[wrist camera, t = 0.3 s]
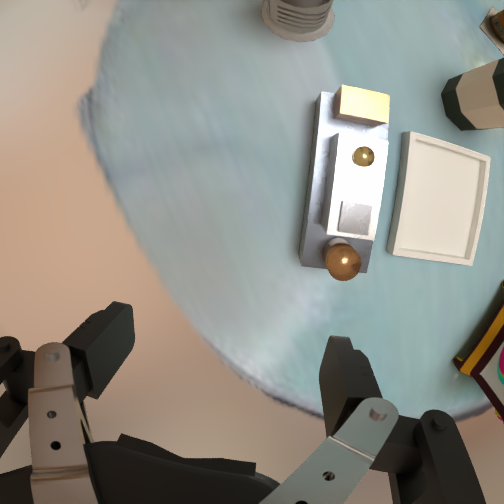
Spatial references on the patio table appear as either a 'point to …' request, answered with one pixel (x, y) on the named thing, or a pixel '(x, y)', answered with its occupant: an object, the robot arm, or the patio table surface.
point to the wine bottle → (476, 98)
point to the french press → (298, 18)
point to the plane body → (326, 125)
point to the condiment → (495, 27)
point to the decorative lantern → (488, 362)
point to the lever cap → (354, 186)
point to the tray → (438, 200)
